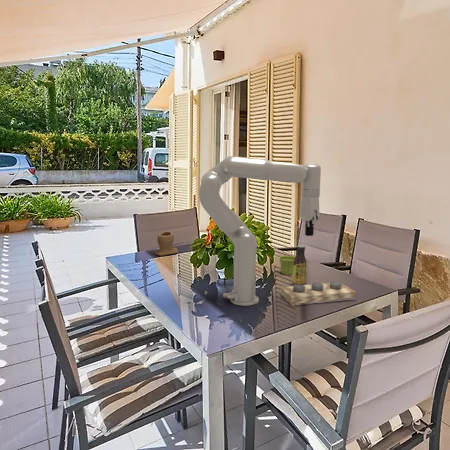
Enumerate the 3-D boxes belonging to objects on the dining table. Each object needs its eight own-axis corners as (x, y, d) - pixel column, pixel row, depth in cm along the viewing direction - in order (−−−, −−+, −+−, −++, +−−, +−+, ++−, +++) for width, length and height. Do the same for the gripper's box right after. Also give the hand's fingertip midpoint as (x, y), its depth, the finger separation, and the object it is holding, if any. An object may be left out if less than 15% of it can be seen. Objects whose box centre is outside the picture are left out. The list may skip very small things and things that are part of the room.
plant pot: (295, 271, 224) (295, 256, 222) (296, 276, 214) (297, 260, 213) (278, 270, 225) (278, 255, 223) (278, 275, 215) (279, 260, 214)
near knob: (295, 301, 178) (295, 288, 177) (290, 297, 183) (291, 284, 182) (306, 300, 179) (306, 287, 178) (301, 296, 184) (302, 284, 183)
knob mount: (292, 306, 173) (292, 297, 172) (280, 295, 186) (280, 286, 185) (355, 300, 180) (355, 291, 179) (339, 290, 193) (339, 282, 192)
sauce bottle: (295, 288, 196) (296, 248, 192) (290, 284, 202) (291, 245, 198) (307, 286, 198) (309, 247, 194) (302, 282, 204) (303, 244, 200)
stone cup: (160, 258, 252) (159, 234, 249) (153, 254, 262) (152, 231, 259) (182, 254, 259) (182, 232, 257) (174, 251, 269) (174, 229, 267)
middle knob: (314, 299, 180) (314, 287, 179) (309, 295, 185) (309, 283, 184) (325, 298, 181) (325, 286, 180) (319, 295, 186) (320, 282, 185)
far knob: (332, 298, 182) (333, 285, 181) (327, 294, 187) (327, 281, 186) (343, 297, 183) (343, 284, 182) (337, 293, 188) (338, 280, 187)
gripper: (295, 192, 180) (294, 232, 183) (310, 195, 165) (308, 239, 169) (311, 191, 181) (309, 231, 185) (327, 195, 167) (325, 238, 170)
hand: (309, 235), depth 177 cm, fingers closed
